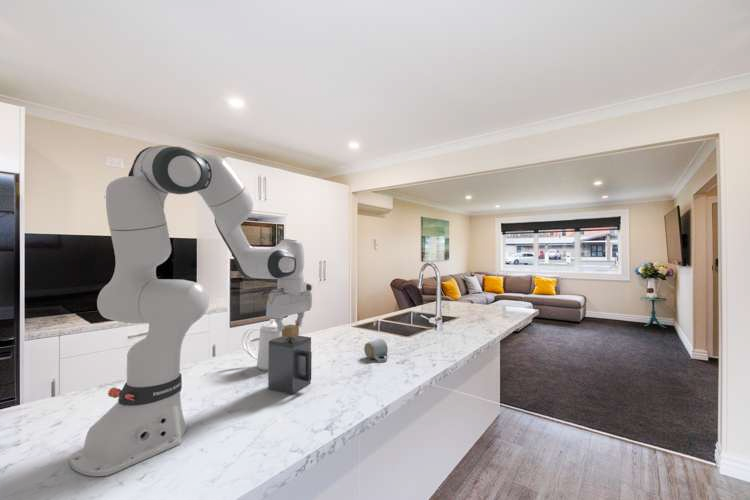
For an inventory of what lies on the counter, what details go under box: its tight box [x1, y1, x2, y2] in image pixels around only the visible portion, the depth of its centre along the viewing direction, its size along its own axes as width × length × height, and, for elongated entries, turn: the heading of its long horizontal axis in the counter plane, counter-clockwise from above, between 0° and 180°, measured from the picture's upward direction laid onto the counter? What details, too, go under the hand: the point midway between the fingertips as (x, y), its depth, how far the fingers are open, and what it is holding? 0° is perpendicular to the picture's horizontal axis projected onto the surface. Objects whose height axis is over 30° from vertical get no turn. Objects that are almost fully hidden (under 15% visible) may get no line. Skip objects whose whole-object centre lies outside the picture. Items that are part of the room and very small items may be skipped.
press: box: [267, 335, 312, 396], centre depth 114 cm, size 10×13×16 cm
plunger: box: [282, 324, 300, 340], centre depth 114 cm, size 7×7×19 cm
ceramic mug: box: [363, 338, 389, 363], centre depth 145 cm, size 11×8×8 cm
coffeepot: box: [242, 318, 304, 371], centre depth 134 cm, size 11×25×19 cm, turn 84°
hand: (290, 327), depth 114 cm, fingers open, 8 cm apart
